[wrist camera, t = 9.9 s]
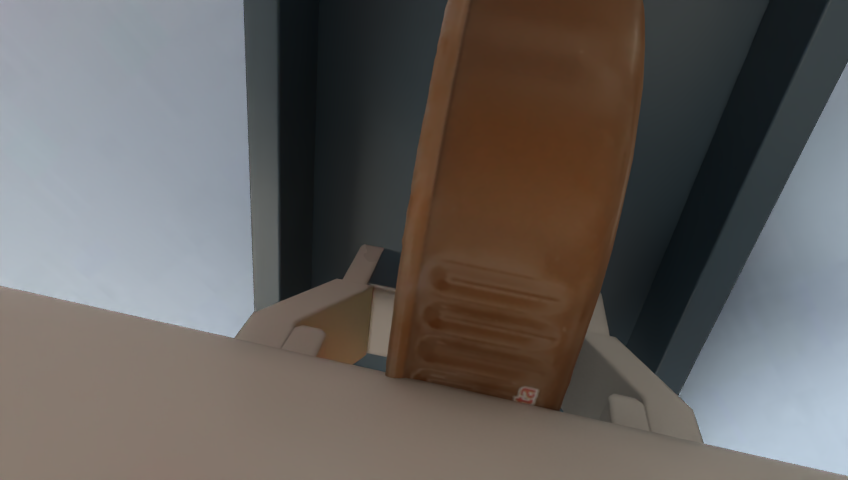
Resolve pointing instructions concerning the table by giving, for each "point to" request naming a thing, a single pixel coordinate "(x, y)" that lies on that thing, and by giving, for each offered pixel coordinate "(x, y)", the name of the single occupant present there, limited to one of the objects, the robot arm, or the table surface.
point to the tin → (516, 193)
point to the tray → (649, 176)
